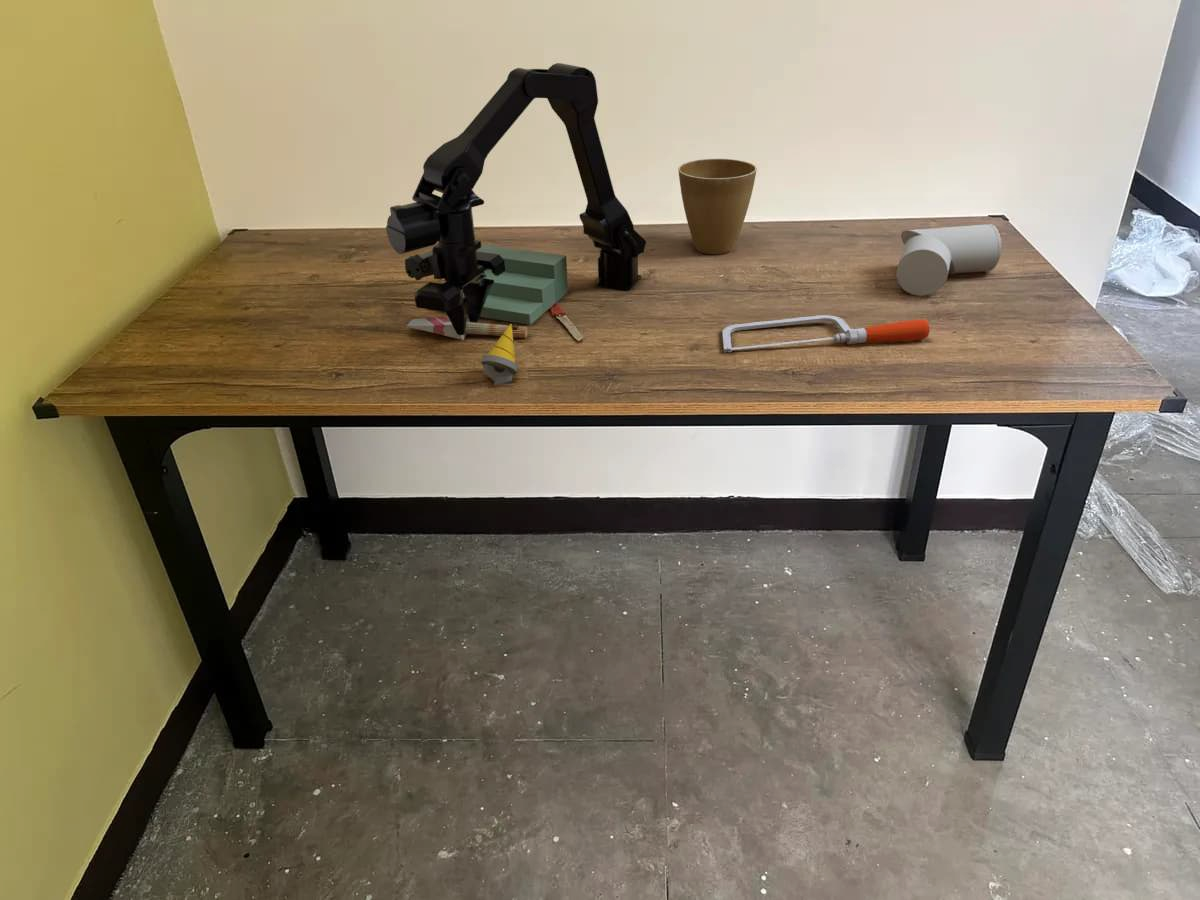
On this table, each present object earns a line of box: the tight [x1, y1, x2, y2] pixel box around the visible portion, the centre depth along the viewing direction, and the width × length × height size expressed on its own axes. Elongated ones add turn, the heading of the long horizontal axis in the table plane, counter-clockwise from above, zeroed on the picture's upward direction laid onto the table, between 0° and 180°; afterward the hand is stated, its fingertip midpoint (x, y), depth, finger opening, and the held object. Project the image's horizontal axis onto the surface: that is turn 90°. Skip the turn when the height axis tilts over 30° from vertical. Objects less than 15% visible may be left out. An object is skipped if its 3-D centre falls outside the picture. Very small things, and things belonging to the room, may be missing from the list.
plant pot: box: [677, 158, 758, 255], centre depth 174 cm, size 15×15×16 cm
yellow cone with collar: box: [480, 323, 519, 386], centre depth 133 cm, size 5×5×10 cm
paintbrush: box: [406, 316, 529, 341], centre depth 146 cm, size 4×3×20 cm
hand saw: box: [721, 314, 930, 353], centre depth 143 cm, size 33×3×10 cm
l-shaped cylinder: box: [895, 223, 1002, 297], centre depth 160 cm, size 18×11×20 cm
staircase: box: [463, 243, 569, 326], centre depth 157 cm, size 18×15×7 cm
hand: (467, 329), depth 147 cm, fingers closed on paintbrush, 4 cm apart
